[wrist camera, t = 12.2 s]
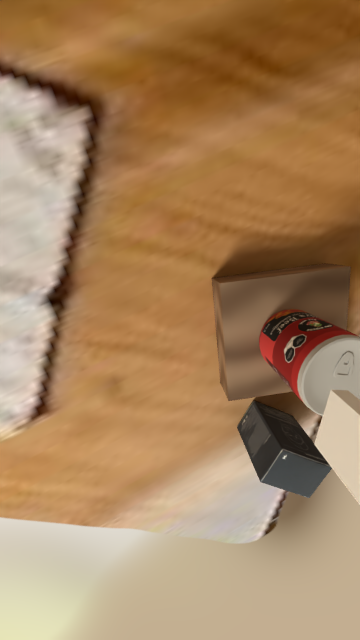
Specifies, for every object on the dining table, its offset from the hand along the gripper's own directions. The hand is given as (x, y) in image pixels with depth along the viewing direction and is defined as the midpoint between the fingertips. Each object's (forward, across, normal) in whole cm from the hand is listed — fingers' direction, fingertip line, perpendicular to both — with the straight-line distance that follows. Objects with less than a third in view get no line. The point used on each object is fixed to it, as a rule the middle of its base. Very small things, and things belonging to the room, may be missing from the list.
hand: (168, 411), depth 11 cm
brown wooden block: (+27, +16, -4) cm, 32 cm away
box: (+27, +19, -20) cm, 38 cm away
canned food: (+22, +16, -4) cm, 28 cm away
